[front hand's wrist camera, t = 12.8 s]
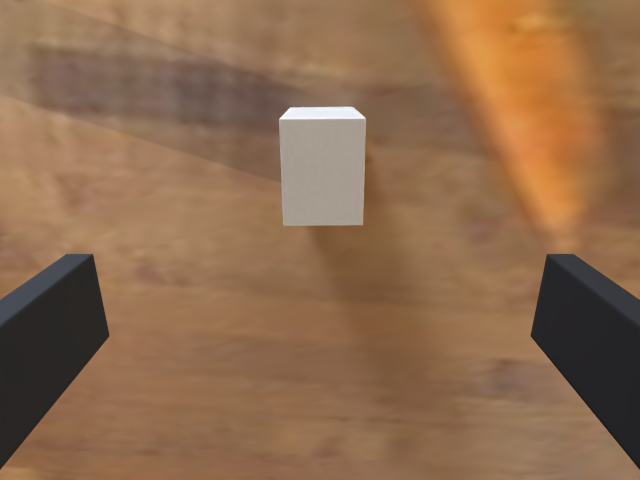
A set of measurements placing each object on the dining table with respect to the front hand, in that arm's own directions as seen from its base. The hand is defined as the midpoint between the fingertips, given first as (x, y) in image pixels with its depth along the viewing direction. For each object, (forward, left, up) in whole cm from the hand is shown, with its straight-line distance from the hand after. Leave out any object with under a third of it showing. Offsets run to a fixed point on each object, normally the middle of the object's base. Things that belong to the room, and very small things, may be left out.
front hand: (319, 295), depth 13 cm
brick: (0, 0, -26) cm, 26 cm away
